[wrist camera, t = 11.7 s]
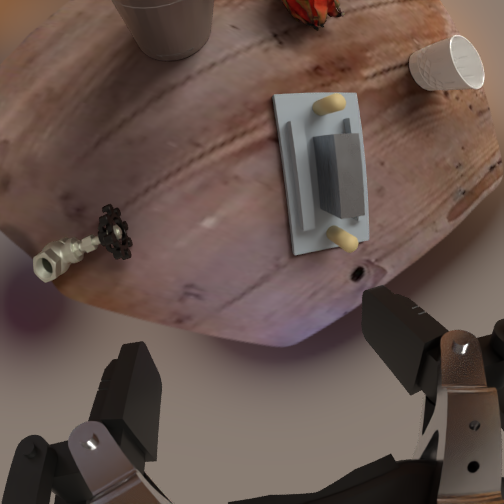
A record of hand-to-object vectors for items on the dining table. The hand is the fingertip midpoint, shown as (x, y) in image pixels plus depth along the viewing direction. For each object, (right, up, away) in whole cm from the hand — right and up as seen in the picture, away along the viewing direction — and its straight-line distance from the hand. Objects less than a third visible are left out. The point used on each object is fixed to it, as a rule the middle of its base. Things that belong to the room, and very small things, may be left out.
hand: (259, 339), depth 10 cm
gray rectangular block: (+9, +13, +24) cm, 29 cm away
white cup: (+26, +31, +22) cm, 46 cm away
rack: (+9, +13, +25) cm, 30 cm away
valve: (-21, +5, +23) cm, 32 cm away
